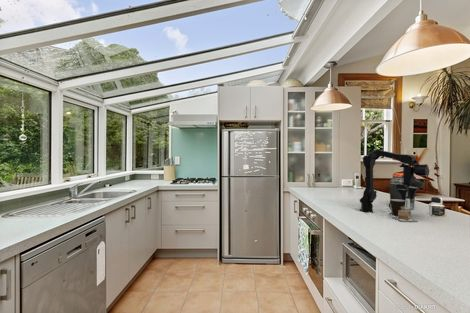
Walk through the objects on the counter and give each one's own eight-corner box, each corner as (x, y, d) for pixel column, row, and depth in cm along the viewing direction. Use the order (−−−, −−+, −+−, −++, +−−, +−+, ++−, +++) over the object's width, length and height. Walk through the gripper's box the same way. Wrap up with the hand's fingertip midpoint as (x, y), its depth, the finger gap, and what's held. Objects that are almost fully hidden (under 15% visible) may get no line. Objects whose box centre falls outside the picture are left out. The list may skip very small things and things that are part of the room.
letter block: (407, 220, 161) (407, 211, 161) (398, 218, 165) (398, 210, 165) (411, 219, 164) (411, 211, 164) (402, 217, 168) (402, 209, 168)
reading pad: (401, 222, 160) (401, 220, 160) (391, 217, 170) (391, 216, 170) (418, 222, 160) (418, 221, 160) (407, 218, 170) (407, 216, 170)
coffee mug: (401, 213, 181) (401, 199, 181) (408, 216, 173) (408, 201, 173) (383, 213, 183) (383, 198, 182) (389, 216, 174) (389, 201, 174)
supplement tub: (415, 211, 189) (415, 174, 189) (389, 208, 198) (389, 173, 197) (413, 207, 203) (414, 173, 203) (390, 205, 211) (390, 172, 211)
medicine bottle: (431, 216, 175) (432, 197, 175) (428, 213, 182) (428, 196, 182) (445, 217, 172) (445, 198, 172) (441, 214, 179) (441, 196, 179)
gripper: (415, 176, 155) (414, 203, 155) (430, 175, 164) (430, 200, 164) (395, 175, 164) (395, 200, 164) (410, 173, 174) (410, 197, 174)
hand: (408, 199), depth 166 cm, fingers open, 9 cm apart
